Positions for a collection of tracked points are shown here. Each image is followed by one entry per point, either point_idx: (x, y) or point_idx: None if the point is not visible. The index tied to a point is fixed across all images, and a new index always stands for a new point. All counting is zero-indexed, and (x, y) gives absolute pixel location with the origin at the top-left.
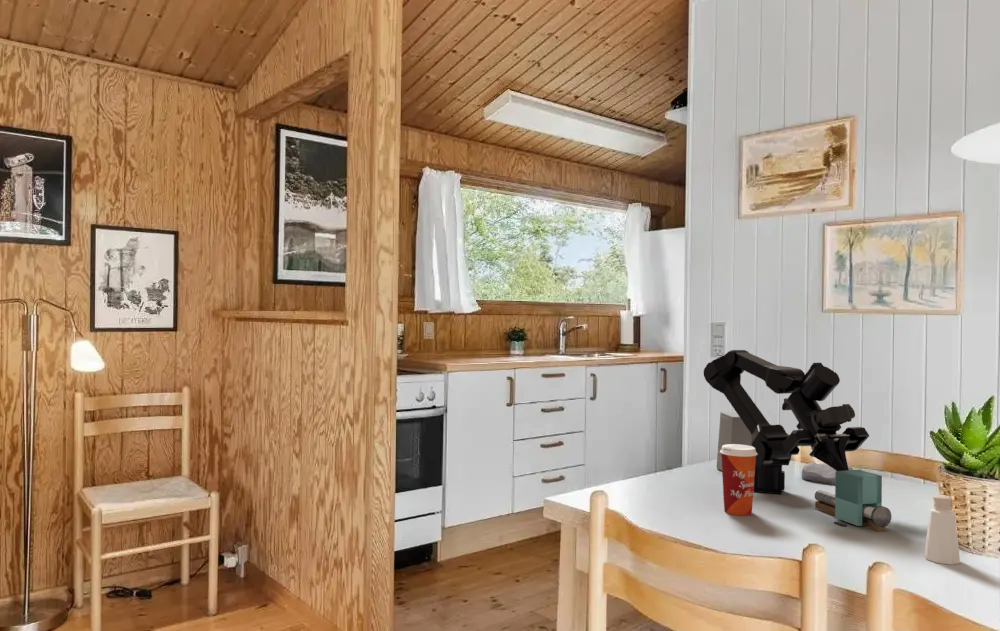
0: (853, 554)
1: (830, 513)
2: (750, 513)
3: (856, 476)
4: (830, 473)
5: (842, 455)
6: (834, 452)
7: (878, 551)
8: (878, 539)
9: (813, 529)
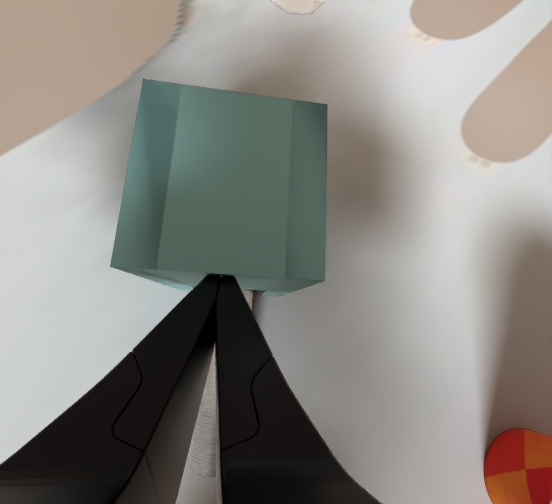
0: (443, 78)
1: None
2: (503, 435)
3: (312, 124)
4: None
5: (164, 370)
6: (258, 415)
7: (379, 69)
8: None
9: (410, 240)
